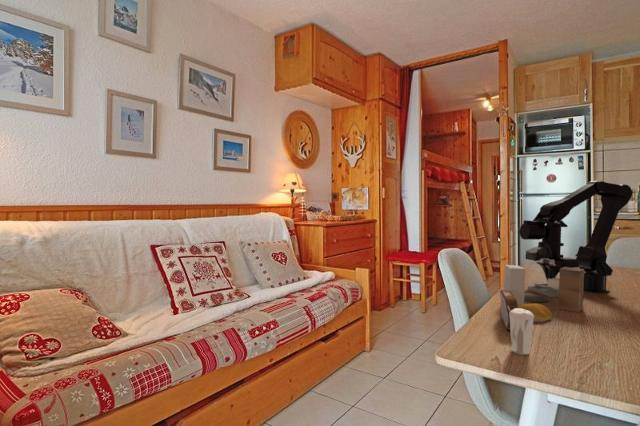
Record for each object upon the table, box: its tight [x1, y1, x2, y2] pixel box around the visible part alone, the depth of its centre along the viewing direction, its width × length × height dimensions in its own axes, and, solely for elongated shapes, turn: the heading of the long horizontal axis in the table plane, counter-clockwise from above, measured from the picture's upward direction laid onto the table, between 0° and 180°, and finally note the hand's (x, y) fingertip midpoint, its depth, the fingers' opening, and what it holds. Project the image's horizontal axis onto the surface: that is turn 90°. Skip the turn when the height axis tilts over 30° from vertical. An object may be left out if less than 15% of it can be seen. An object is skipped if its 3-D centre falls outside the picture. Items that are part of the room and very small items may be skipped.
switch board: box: [527, 282, 559, 298], centre depth 129 cm, size 12×11×2 cm
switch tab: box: [547, 277, 560, 290], centre depth 128 cm, size 4×4×4 cm
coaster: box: [524, 293, 549, 304], centre depth 120 cm, size 9×9×1 cm
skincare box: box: [503, 264, 526, 306], centre depth 112 cm, size 6×4×12 cm
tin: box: [499, 289, 518, 331], centre depth 95 cm, size 15×3×8 cm, turn 160°
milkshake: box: [508, 306, 534, 356], centre depth 78 cm, size 4×5×10 cm
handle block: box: [558, 267, 585, 313], centre depth 109 cm, size 5×5×12 cm
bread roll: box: [518, 302, 553, 323], centre depth 102 cm, size 8×9×4 cm
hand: (549, 283), depth 131 cm, fingers closed
